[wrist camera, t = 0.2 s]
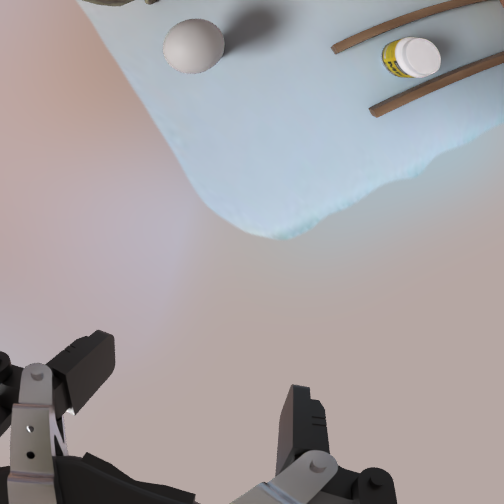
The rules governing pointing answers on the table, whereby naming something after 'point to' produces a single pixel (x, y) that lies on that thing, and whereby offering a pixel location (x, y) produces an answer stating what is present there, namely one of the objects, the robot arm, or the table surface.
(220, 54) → the lightbulb
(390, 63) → the supplement bottle
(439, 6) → the guide track
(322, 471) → the robot arm
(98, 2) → the tabletop clock
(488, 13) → the table surface
